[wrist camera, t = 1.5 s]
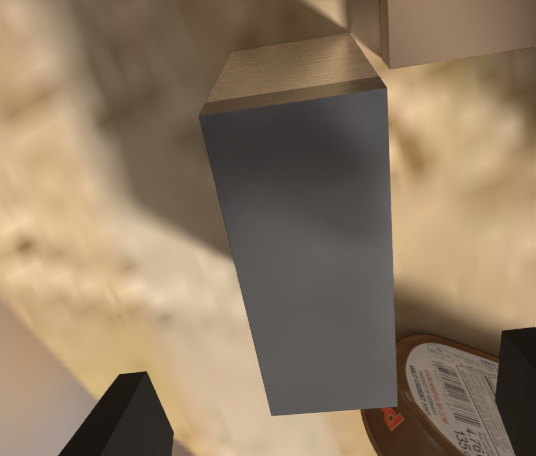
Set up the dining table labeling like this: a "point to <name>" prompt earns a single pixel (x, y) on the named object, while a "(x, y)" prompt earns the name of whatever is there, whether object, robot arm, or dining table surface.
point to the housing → (309, 219)
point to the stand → (453, 29)
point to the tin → (440, 403)
